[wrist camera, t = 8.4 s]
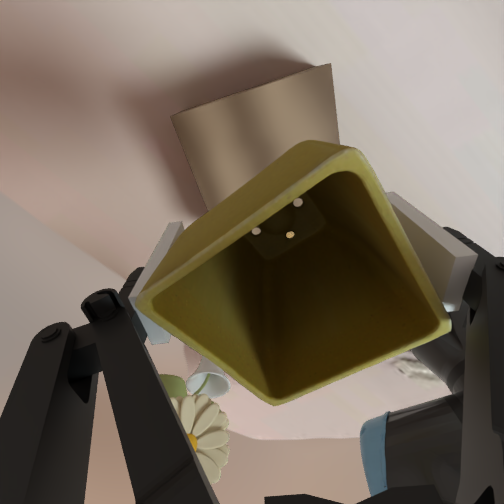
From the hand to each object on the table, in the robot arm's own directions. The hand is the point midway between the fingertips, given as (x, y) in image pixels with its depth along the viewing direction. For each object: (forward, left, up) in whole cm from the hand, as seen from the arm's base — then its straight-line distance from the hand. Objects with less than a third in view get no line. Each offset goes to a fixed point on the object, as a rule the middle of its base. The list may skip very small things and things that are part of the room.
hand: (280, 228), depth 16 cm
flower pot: (0, 0, -2) cm, 2 cm away
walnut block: (0, 0, -18) cm, 18 cm away
